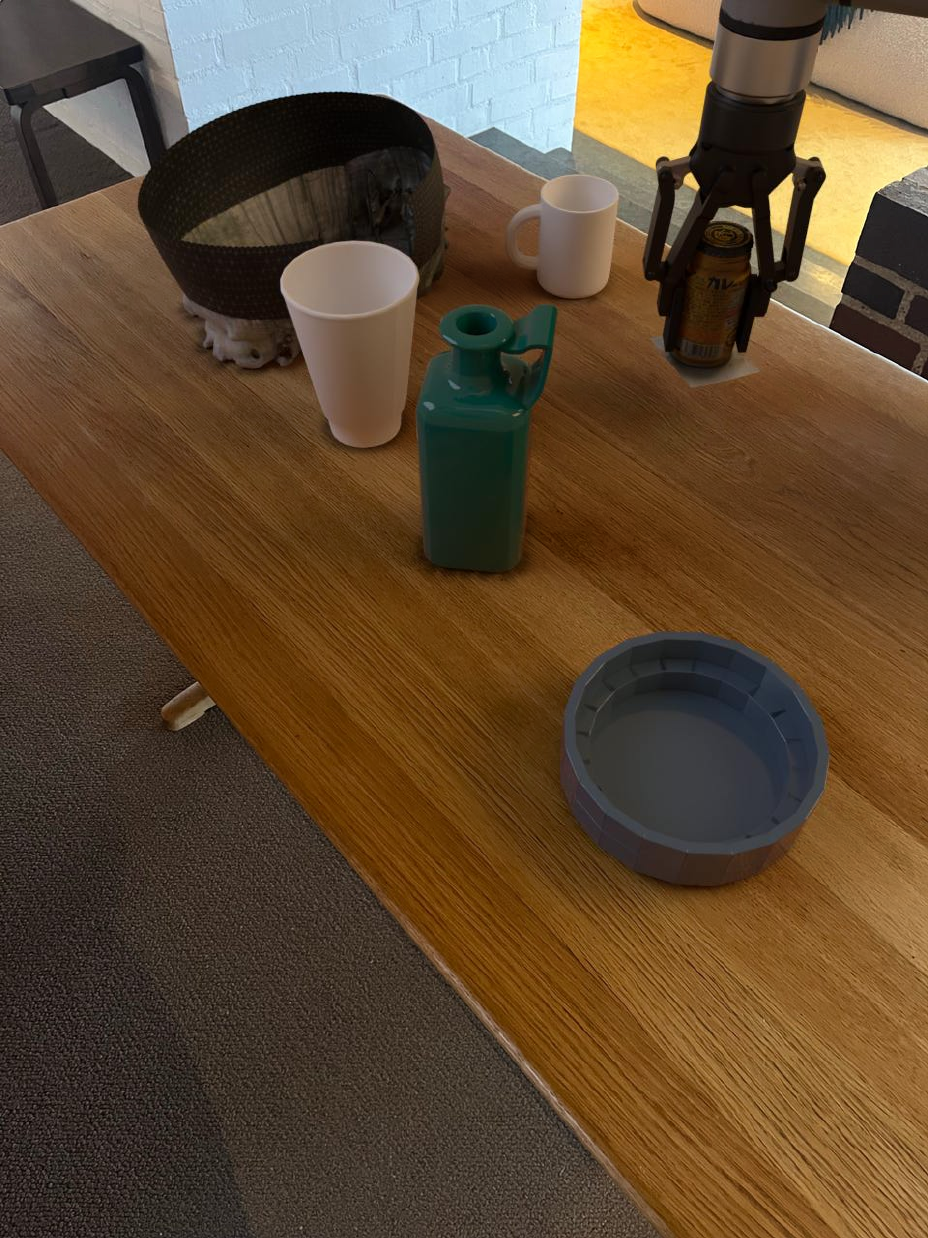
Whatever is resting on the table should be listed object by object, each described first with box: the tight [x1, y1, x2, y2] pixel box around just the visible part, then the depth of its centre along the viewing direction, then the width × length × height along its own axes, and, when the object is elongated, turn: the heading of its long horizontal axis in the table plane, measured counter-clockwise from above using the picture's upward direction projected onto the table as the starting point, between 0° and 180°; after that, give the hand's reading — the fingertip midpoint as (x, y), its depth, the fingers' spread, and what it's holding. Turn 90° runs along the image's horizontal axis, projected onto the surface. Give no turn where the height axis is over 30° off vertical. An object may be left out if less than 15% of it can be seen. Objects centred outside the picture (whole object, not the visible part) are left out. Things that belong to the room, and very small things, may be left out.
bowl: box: [558, 630, 831, 887], centre depth 67 cm, size 18×18×6 cm
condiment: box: [649, 220, 761, 389], centre depth 87 cm, size 7×8×12 cm
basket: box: [137, 90, 452, 369], centre depth 102 cm, size 28×35×16 cm
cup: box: [280, 241, 420, 449], centre depth 88 cm, size 12×12×16 cm
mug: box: [504, 173, 620, 300], centre depth 106 cm, size 12×8×10 cm
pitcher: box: [414, 303, 559, 574], centre depth 75 cm, size 10×8×22 cm
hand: (704, 343), depth 91 cm, fingers closed on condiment, 6 cm apart
